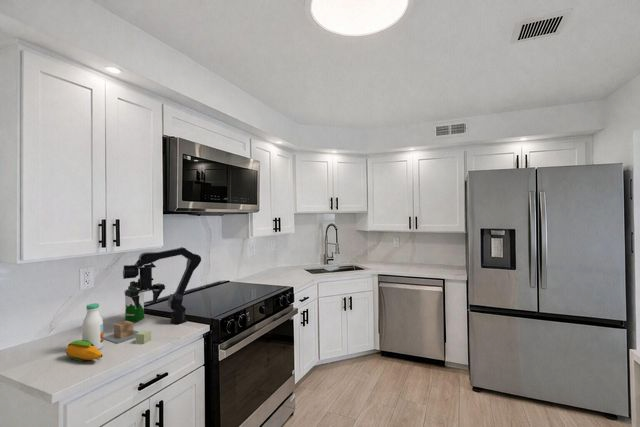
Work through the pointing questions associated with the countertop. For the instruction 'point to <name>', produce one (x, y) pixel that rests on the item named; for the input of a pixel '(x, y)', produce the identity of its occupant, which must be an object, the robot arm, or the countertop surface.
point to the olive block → (143, 337)
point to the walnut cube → (123, 329)
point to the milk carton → (134, 308)
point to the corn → (82, 350)
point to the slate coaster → (118, 340)
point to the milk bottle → (93, 326)
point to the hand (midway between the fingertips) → (145, 306)
